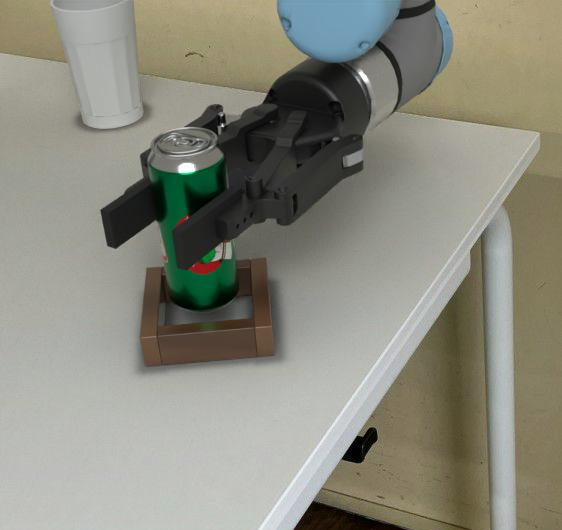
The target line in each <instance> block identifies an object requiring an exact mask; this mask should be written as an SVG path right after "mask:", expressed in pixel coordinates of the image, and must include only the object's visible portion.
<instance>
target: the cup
mask: <svg viewBox="0 0 562 530" xmlns="http://www.w3.org/2000/svg"><path fill="white" fill-rule="evenodd" d="M49 5H50V9H51V12H52V16H53V19H54V22H55V25H56V29H57V32H58V35H59V39H60V43H61V46H62V49H63V53H64V56H65V61H66V64H67V67H68V70H69V74H70V77H71V78H70V79H71V82H72V85H73V87H74V92H75V95H76V99H77V102H78V106H79V110H80V115H81V119H82V122H83V124H84V125H86V126H87V127H90V128H93V129H101V130H102V129H103V130H106V129H108V130H109V129H117V128H122V127H127V126H129V125H132V124H134V123H136V122H137V121H139V120H140V119H141V118H142V117H143V116H144V113H145V112H144V111H145V110H144V105H143V100H142V98H143V97H142V86H141V75H140V64H139V62H140V61H139V50H138V40H137V28H136V26H137V25H136V13H135V0H50V1H49Z"/></svg>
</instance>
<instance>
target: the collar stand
mask: <svg viewBox="0 0 562 530" xmlns="http://www.w3.org/2000/svg"><path fill="white" fill-rule="evenodd" d="M267 263H268V261H267V257H265V256H264V257H255V258H253V257H252V258H242V259H241V258H240V259H237V267H238V277H239V292H238V294H237V296H236V297H240V296H252V309H253V310H252V312H253V313H252V314H253V317H249V318H237V319H227V320H226V319H225V320H215V321H203V322H191V323H182V324H181V323H180V324H171V325H166V324H165V323H166V307H167V303H171V302H172V301H171V300H170V298H169V294H168V288H167V282H166V275H165V269H164V265H163V266H151V267H145V278H144V288H143V298H142V309H141V318H140V319H141V320H140V330H139V331H140V332H139V341H140V347H141V352H142V359H143V363H144V367H154V366H167V365H179V364H180V365H181V364H191V363H202V362H212V361H214V362H215V361H224V360H237V359H247V358H257V357H267V356H275V355H276V353H275V344H274V343H275V342H274V330H273V321H272V309H271V308H272V307H271V297H270V284H269V273H268V264H267ZM172 303H173V302H172Z"/></svg>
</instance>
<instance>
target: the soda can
mask: <svg viewBox="0 0 562 530" xmlns="http://www.w3.org/2000/svg"><path fill="white" fill-rule="evenodd" d="M150 148H151V153H150V155H149V157H148V160H147V162H148V169H149V175H150V181H151V188H152V194H153V200H154V206H155V213H156V219H157V220H156V225H157V230H158V237H159V244H160V249H161V257H162V263H163V266H164V269H165V275H166V282H167V288H168V294H169V298H170V300H171V301H172V304H174V305H175V306H176V307H178V308H179V309H181V310H183V311H185V312H188V313H193V314H209V313H214V312H218V311H220V310H222V309H225V308H226V307H227V306H228V305H230V304H231V303H232V302H233V301H234V300H235V299H236V297H238V296H237V294H238V292H239V277H238V267H237V260H238V259H237V258H238V257H237V250H236V249H237V248H236V240H235V239H236V238H235V239H232V240H230V241H228V240H224V241H223V242H222V243H221V244H219V245H218V246H217V247H216V248H214V249H213V250H212V251H211V252H209V253H208V254H207V255H206V256H204V257H203V258H202V259H201V260H199V261H198V262H197V263H196V264H194V265H193V266H192V267H191V268H189V269H188V270H187V271H185V270H182V269H179V268H177V265H176V258H175V251H174V244H173V238H172V231H171V230H173V229H174V228H175V227H177V226H178V225H179V224H181V223H182V222H184V221H185V220H186V219H188V218H189V217H190V216H192V215H193V214H194V213H196V212H197V211H198V210H200V209H201V208H202V207H204V206H205V205H206V204H208V203H209V202H210V201H212V200H213V199H214V198H216V197H217V196H218V195H220V194H221V193H222V192H224V191H225V190H226V189H228V188H229V183H228V173H227V164H226V155H225V150H224V149H223V147H222V146H221V145H220V144H219V143H218V137H217V135H216V134H215V133H214V132H212V131H211V130H208V129H204V128H199V127H184V126H183V127H176V128H173V129H169V130H166V131H163V132H161V133H160V134H158V135H156V136H155V137H153V139H152V141H151V143H150Z"/></svg>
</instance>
